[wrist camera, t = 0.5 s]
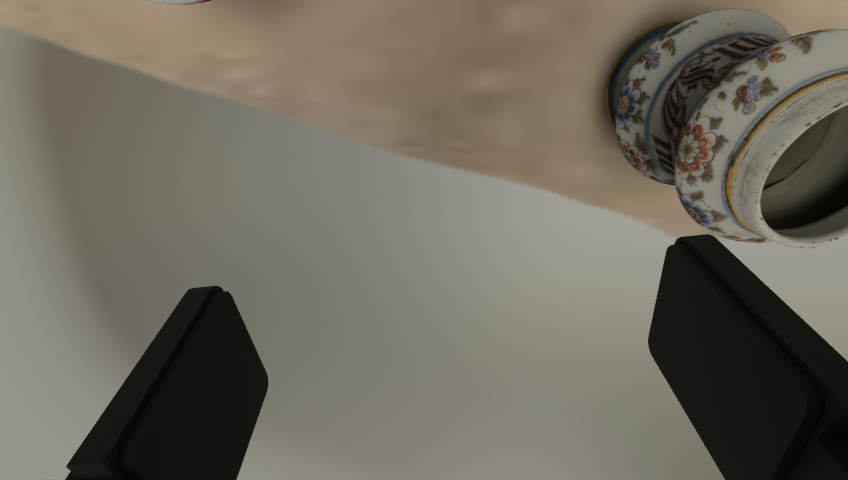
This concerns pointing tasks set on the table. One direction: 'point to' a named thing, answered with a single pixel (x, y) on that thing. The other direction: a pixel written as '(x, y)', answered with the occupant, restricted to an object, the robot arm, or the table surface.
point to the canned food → (180, 1)
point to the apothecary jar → (740, 124)
